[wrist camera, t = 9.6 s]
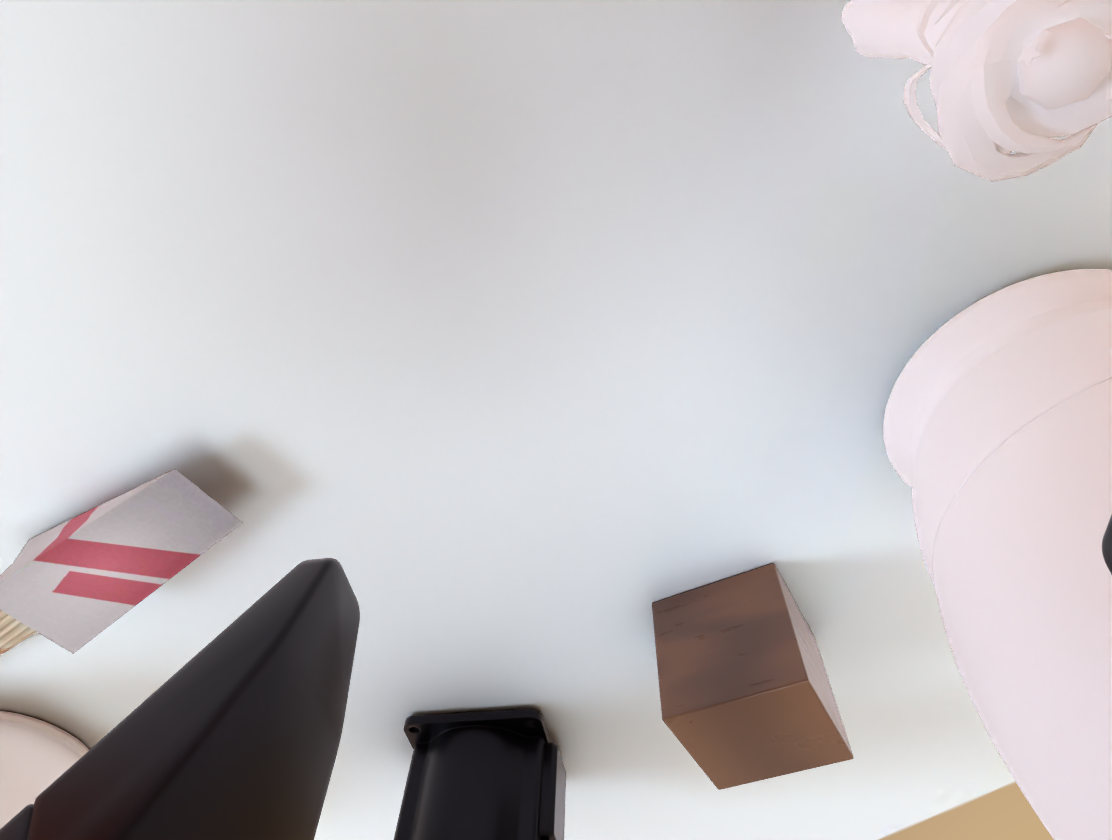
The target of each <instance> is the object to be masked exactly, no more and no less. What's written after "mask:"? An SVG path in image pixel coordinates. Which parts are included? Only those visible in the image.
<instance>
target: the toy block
mask: <svg viewBox="0 0 1112 840" xmlns="http://www.w3.org/2000/svg"><path fill="white" fill-rule="evenodd" d="M652 611H653V622H654V633H655V644H656V655H657V666H658V677H659V688H660V699H661V710H662V720H663V721H664V722H665V724H666V725H667V726H668V727H669V729H670V730H671V731H672V732H673V734H674V735H675V736H676V737H677V739H678V740H679V741H680V742H681V744H682V745H683V746H684V747H685V749H686V750H687V751H688V752H689V754H690V755H691V756H692V757H693V759H694V760H695V761H696V762H697V763H698V765H699V766H700V767H701V768H702V770H703V771H704V772H705V773H706V775H707V776H708V777H709V778H710V780H711V781H712V782H713V783H714V785H715V786H716V787H717V788H718V789H719V790H720V789H725V788H729V787H733V786H738V785H742V784H746V783H751V782H755V781H759V780H764V779H768V778H772V777H777V776H781V775H785V774H790V773H794V772H798V771H803V770H807V769H811V768H816V767H820V766H824V765H829V764H833V763H837V762H842V761H846V760H850V759H853V754H852V751H851V747H850V744H849V741H848V738H847V735H846V732H845V729H844V726H843V723H842V720H841V716H840V713H839V710H838V707H837V704H836V701H835V698H834V695H833V692H832V688H831V685H830V682H829V679H828V676H827V673H826V670H825V667H824V664H823V660H822V657H821V654H820V651H819V648H818V645H817V642H816V639H815V637H814V636H813V634H812V632H811V630H810V628H809V626H808V625H807V623H806V621H805V619H804V617H803V615H802V614H801V612H800V610H799V608H798V606H797V604H796V602H795V601H794V599H793V597H792V595H791V593H790V591H789V590H788V588H787V586H786V584H785V582H784V580H783V579H782V577H781V575H780V573H779V571H778V569H777V568H776V566H775V564H769V565H766V566H763V567H760V568H757V569H754V570H751V571H748V572H745V573H742V574H739V575H736V576H733V577H730V578H727V579H724V580H721V581H718V582H715V583H712V584H709V585H706V586H703V587H700V588H697V589H694V590H691V591H688V592H685V593H682V594H679V595H676V596H673V597H670V598H667V599H664V600H661V601H658V602H655V603H652Z"/></svg>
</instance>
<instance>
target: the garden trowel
mask: <svg viewBox="0 0 1112 840" xmlns="http://www.w3.org/2000/svg"><path fill="white" fill-rule="evenodd" d="M242 523H243V522H242V521H240V520H239V519H238V518H237V517H235V516H234V515H233V514H232V513H230V512H229V511H228V510H226V509H225V508H224V507H223V506H221V505H220V504H219V503H218V502H216V501H215V500H214V499H212V498H211V497H210V496H209V495H207V494H206V493H205V492H204V491H202V490H201V489H200V488H199V487H197V486H196V485H195V484H193V483H192V482H191V481H190V480H188V479H187V478H186V477H185V476H183V475H182V474H181V473H180V472H178V471H177V470H176V469H173V470H171V471H169V472H167V473H165V474H163V475H161V476H159V477H157V478H155V479H153V480H151V481H148V482H146V483H144V484H142V485H140V486H138V487H136V488H134V489H132V490H130V491H128V492H126V493H124V494H122V495H120V496H118V497H116V498H114V499H111V500H109V501H107V502H105V503H103V504H101V505H99V506H97V507H95V508H93V509H91V510H89V511H87V512H85V513H83V514H81V515H79V516H76V517H74V518H72V519H70V520H68V521H66V522H64V523H62V524H60V525H58V526H56V527H54V528H52V529H50V530H48V531H46V532H44V533H42V534H39V535H37V536H35V537H33V538H31V539H29V540H28V542H27V543H26V544H25V546H24V547H23V549H22V550H21V552H20V553H19V555H18V556H17V558H16V559H15V561H14V562H13V564H11V565H10V566H9V567H8V568H7V569H6V570H5V571H4V572H3V573H2V574H1V575H0V655H1V654H2V653H4V652H6V651H7V650H9V649H10V648H12V647H14V646H15V645H17V644H19V643H20V642H22V641H24V640H25V639H27V638H28V637H30V636H32V635H33V634H35V633H37V632H38V633H40V634H41V635H43V636H45V637H46V638H48V639H50V640H51V641H53V642H55V643H56V644H58V645H60V646H61V647H63V648H65V649H66V650H68V651H70V652H71V653H75V652H76V651H77V650H79V649H80V648H81V647H83V646H84V645H85V644H86V643H88V642H89V641H90V640H92V639H93V638H94V637H95V636H97V635H98V634H99V633H101V632H102V631H103V630H105V629H106V628H107V627H108V626H110V625H111V624H112V623H114V622H115V621H116V620H117V619H119V618H120V617H121V616H123V615H124V614H125V613H127V612H128V611H129V610H130V609H132V608H133V607H134V606H136V605H137V604H138V603H139V602H141V601H142V600H143V599H145V598H146V597H147V596H148V595H150V594H151V593H152V592H154V591H155V590H156V589H158V588H159V587H160V586H161V585H163V584H164V583H165V582H167V581H168V580H169V579H170V578H172V577H173V576H174V575H176V574H177V573H178V572H180V571H181V570H182V569H183V568H185V567H186V566H187V565H189V564H190V563H191V562H192V561H194V560H195V559H196V558H198V557H199V556H200V555H202V554H203V553H204V552H205V551H207V550H208V549H209V548H211V547H212V546H213V545H214V544H216V543H217V542H218V541H220V540H221V539H222V538H224V537H225V536H226V535H227V534H229V533H230V532H231V531H233V530H234V529H235V528H236V527H238V526H239V525H240V524H242Z"/></svg>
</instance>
